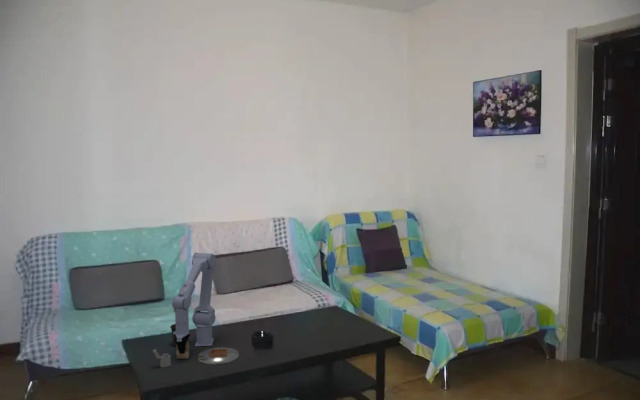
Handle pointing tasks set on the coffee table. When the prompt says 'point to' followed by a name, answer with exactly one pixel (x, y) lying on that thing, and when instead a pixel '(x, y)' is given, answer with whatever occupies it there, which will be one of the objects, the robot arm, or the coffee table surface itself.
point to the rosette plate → (218, 356)
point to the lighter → (163, 359)
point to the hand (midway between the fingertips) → (182, 351)
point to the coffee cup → (173, 328)
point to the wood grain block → (186, 354)
